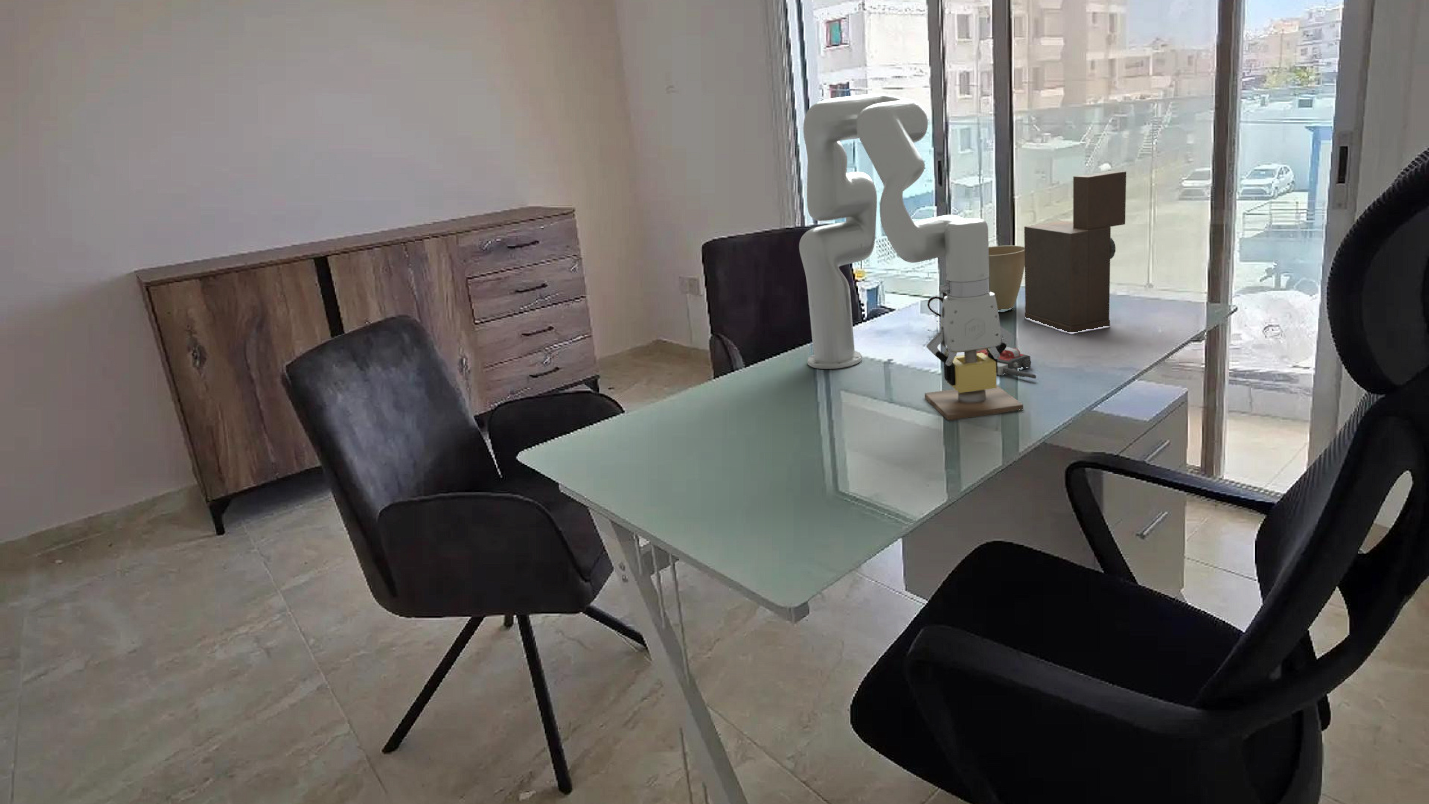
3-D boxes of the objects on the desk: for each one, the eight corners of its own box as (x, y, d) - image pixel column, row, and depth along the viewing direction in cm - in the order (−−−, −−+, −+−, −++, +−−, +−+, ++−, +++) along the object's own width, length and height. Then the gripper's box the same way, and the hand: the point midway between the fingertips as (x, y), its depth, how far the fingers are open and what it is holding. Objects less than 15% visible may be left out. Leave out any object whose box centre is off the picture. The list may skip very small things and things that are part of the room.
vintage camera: (1124, 324, 205) (1128, 171, 194) (1070, 334, 202) (1071, 180, 191) (1075, 310, 222) (1075, 169, 212) (1024, 319, 220) (1022, 177, 209)
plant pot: (1037, 304, 233) (1036, 245, 228) (1011, 318, 223) (1010, 255, 218) (985, 302, 243) (983, 244, 238) (958, 314, 233) (956, 255, 228)
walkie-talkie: (958, 367, 190) (1031, 385, 173) (957, 347, 189) (1031, 363, 172) (987, 358, 194) (1062, 374, 177) (986, 338, 193) (1062, 353, 176)
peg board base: (924, 398, 173) (922, 344, 169) (994, 388, 173) (992, 334, 170) (948, 420, 159) (945, 362, 156) (1023, 409, 160) (1022, 351, 156)
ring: (947, 382, 168) (946, 357, 167) (982, 377, 168) (982, 352, 167) (959, 392, 161) (958, 367, 160) (996, 387, 162) (995, 361, 160)
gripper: (927, 298, 155) (932, 392, 161) (1023, 285, 156) (1024, 380, 161) (915, 290, 163) (919, 381, 168) (1006, 278, 163) (1008, 369, 169)
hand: (971, 380), depth 165 cm, fingers closed on ring, 7 cm apart
